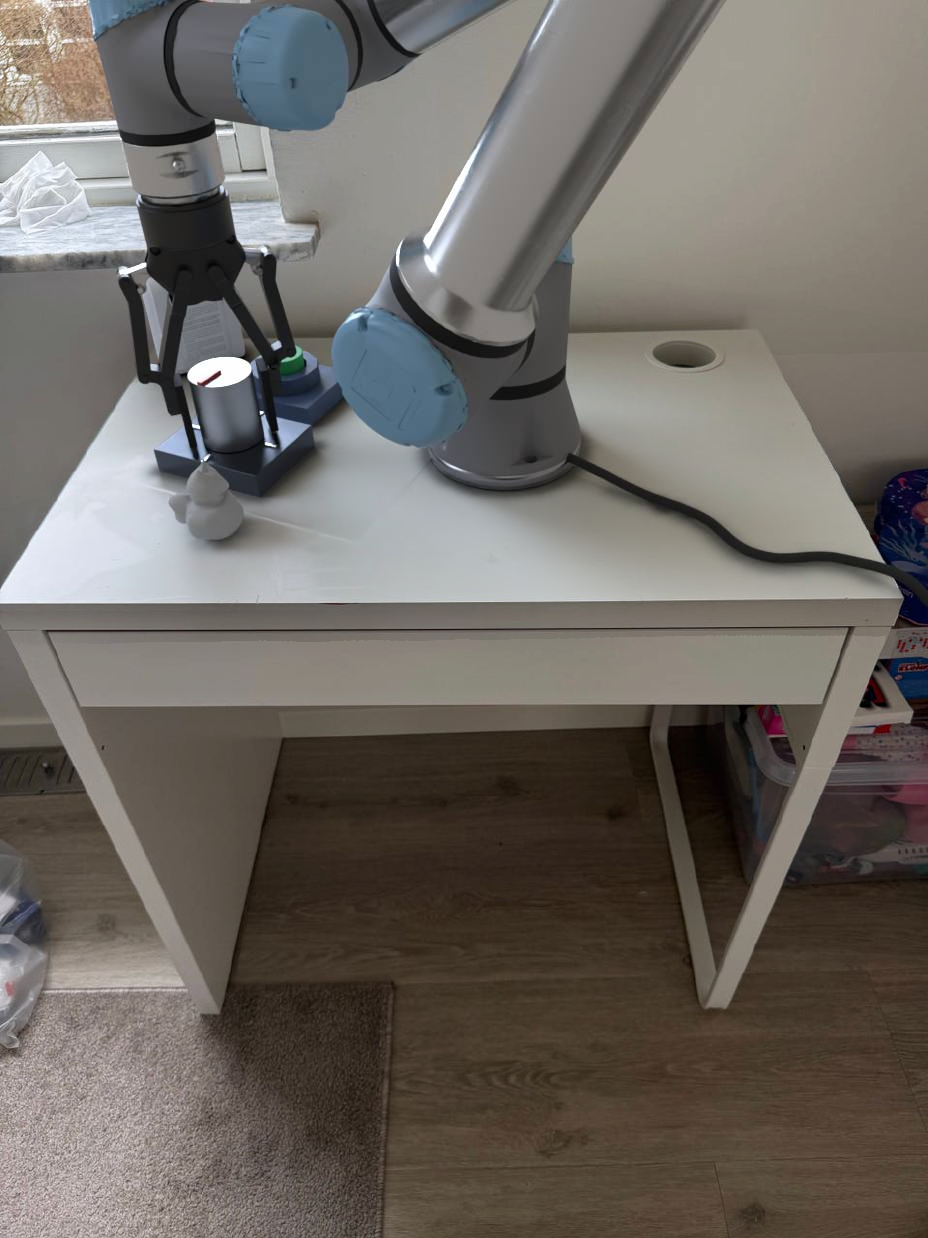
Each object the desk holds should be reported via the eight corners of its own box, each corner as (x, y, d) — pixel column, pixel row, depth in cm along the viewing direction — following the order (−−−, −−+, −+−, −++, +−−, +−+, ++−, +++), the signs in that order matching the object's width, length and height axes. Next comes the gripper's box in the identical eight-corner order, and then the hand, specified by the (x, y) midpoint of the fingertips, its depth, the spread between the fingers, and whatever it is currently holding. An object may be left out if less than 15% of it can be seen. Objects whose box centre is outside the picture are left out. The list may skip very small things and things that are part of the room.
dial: (228, 415, 97) (214, 349, 92) (276, 429, 94) (264, 361, 89) (190, 444, 93) (173, 376, 88) (239, 458, 90) (224, 389, 86)
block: (352, 388, 105) (348, 355, 103) (309, 427, 99) (304, 393, 97) (269, 371, 109) (264, 338, 106) (223, 407, 103) (216, 373, 100)
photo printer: (237, 343, 114) (217, 240, 106) (252, 356, 112) (232, 251, 104) (155, 367, 110) (128, 261, 102) (168, 381, 108) (141, 274, 99)
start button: (312, 362, 103) (310, 347, 101) (290, 380, 100) (287, 365, 98) (278, 355, 104) (275, 340, 103) (255, 373, 101) (252, 358, 100)
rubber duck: (238, 552, 84) (220, 476, 78) (166, 548, 84) (144, 472, 79) (255, 516, 88) (239, 441, 82) (187, 512, 88) (167, 438, 83)
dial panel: (315, 445, 97) (312, 423, 95) (259, 498, 90) (254, 475, 88) (219, 422, 101) (214, 400, 99) (158, 471, 94) (151, 448, 92)
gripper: (55, 221, 73) (131, 473, 88) (310, 186, 78) (341, 430, 93) (51, 192, 78) (124, 434, 93) (291, 160, 83) (323, 395, 98)
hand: (232, 432), depth 93 cm, fingers open, 7 cm apart
